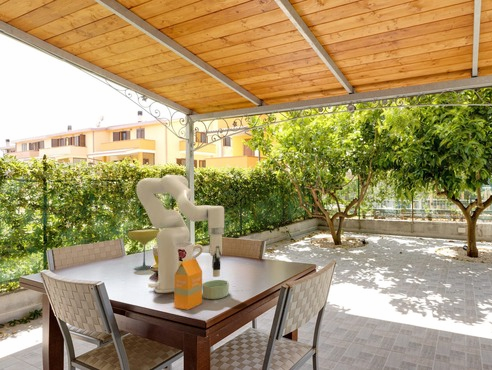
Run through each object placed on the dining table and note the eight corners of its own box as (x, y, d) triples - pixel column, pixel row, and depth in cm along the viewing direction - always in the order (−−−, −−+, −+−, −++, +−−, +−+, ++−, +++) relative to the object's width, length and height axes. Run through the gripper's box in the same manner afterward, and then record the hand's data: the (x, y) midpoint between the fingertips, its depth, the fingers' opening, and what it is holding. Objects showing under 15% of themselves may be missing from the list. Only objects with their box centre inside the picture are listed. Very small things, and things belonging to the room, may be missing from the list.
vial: (213, 277, 152) (213, 258, 153) (212, 275, 156) (212, 257, 156) (220, 276, 154) (220, 257, 154) (219, 274, 157) (219, 256, 157)
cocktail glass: (137, 273, 196) (137, 232, 196) (122, 269, 206) (122, 230, 206) (165, 267, 211) (165, 229, 211) (150, 263, 221) (150, 227, 221)
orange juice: (174, 307, 139) (174, 261, 140) (188, 300, 147) (189, 257, 148) (188, 309, 136) (188, 263, 137) (202, 303, 145) (202, 259, 145)
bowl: (203, 301, 147) (203, 288, 147) (201, 293, 158) (201, 281, 158) (230, 297, 152) (230, 285, 152) (226, 290, 163) (226, 278, 163)
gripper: (206, 229, 161) (206, 266, 161) (210, 233, 146) (210, 273, 146) (221, 228, 164) (221, 264, 164) (226, 232, 149) (226, 271, 149)
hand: (216, 268), depth 155 cm, fingers closed on vial, 3 cm apart
